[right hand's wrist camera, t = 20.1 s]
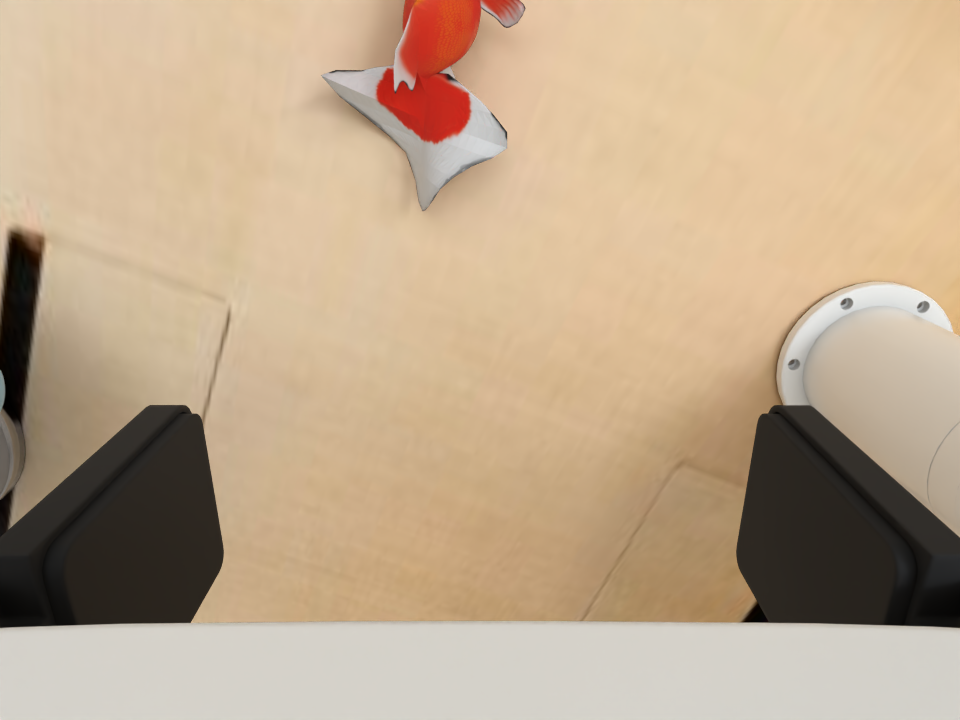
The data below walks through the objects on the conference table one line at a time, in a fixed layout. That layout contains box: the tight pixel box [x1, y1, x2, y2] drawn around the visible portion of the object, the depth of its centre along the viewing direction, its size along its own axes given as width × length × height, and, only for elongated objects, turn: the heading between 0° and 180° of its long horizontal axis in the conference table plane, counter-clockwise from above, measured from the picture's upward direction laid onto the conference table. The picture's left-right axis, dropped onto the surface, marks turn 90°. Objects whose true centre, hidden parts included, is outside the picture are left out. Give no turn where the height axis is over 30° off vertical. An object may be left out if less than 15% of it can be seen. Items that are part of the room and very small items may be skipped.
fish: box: [321, 0, 525, 211], centre depth 39 cm, size 11×16×10 cm
